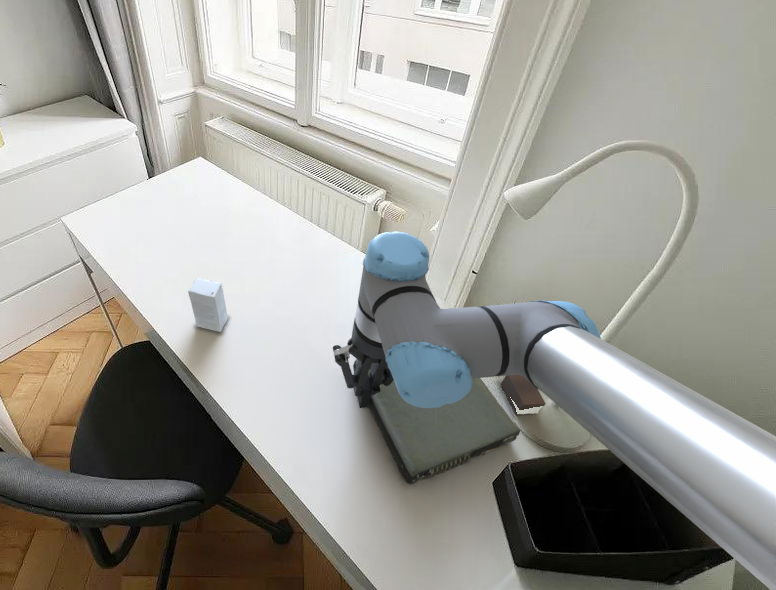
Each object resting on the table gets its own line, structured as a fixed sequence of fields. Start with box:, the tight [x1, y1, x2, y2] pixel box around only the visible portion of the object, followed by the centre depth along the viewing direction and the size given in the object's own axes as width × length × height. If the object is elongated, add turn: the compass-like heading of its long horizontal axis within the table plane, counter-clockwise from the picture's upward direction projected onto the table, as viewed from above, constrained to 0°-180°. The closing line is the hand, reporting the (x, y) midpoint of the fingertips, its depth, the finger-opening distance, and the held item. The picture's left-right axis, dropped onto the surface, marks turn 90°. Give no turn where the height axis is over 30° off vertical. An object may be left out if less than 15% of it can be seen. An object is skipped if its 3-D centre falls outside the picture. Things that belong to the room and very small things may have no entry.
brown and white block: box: [500, 375, 547, 416], centre depth 75 cm, size 6×4×4 cm, turn 3°
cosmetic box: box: [187, 277, 229, 333], centre depth 88 cm, size 6×4×12 cm
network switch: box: [352, 358, 521, 485], centre depth 74 cm, size 23×24×5 cm
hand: (362, 400), depth 74 cm, fingers closed
